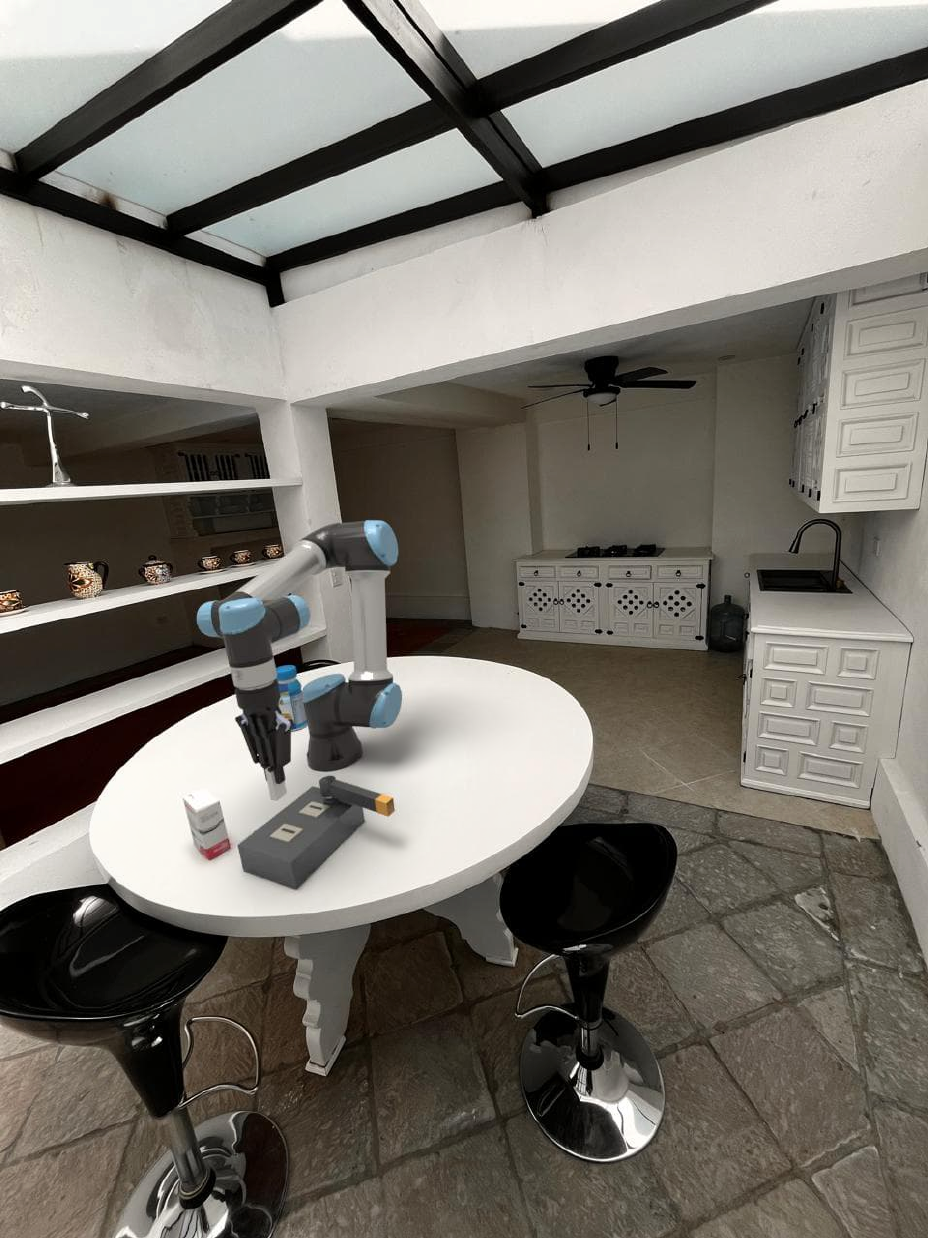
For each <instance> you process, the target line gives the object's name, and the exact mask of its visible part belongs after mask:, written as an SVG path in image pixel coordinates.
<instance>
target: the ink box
mask: <svg viewBox="0 0 928 1238" xmlns="http://www.w3.org/2000/svg"><path fill="white" fill-rule="evenodd" d="M182 800H183V804H184V808H185V812H186V816H187V821H188V825H189V828H190V833H191V837H192V840H193V844H194V846H195V847H196V848H197V849H198V850H199V851H200V852H201V854H202V855H203V856H204V857H205V858H206V859H207V860H208V861H210V860H212V859H214V858H216V857H217V856H220V855H222V854H224V853H225V852H226V851H229V850H230V849H231V848H232V847H231V842H230V838H229V834H228V830H227V826H226V822H225V817H224V815H223V810H222V809H223V808H222V805H221V801H220V799H219V798H218V797H217V796H215V795H214V794H213V793H212V792H211V791H210V790H209V789H208V788H206V787H204V788H202V789H199V790H195V791H193V792H191V793H189V794H186V795H185V796H183V797H182Z"/></svg>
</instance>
